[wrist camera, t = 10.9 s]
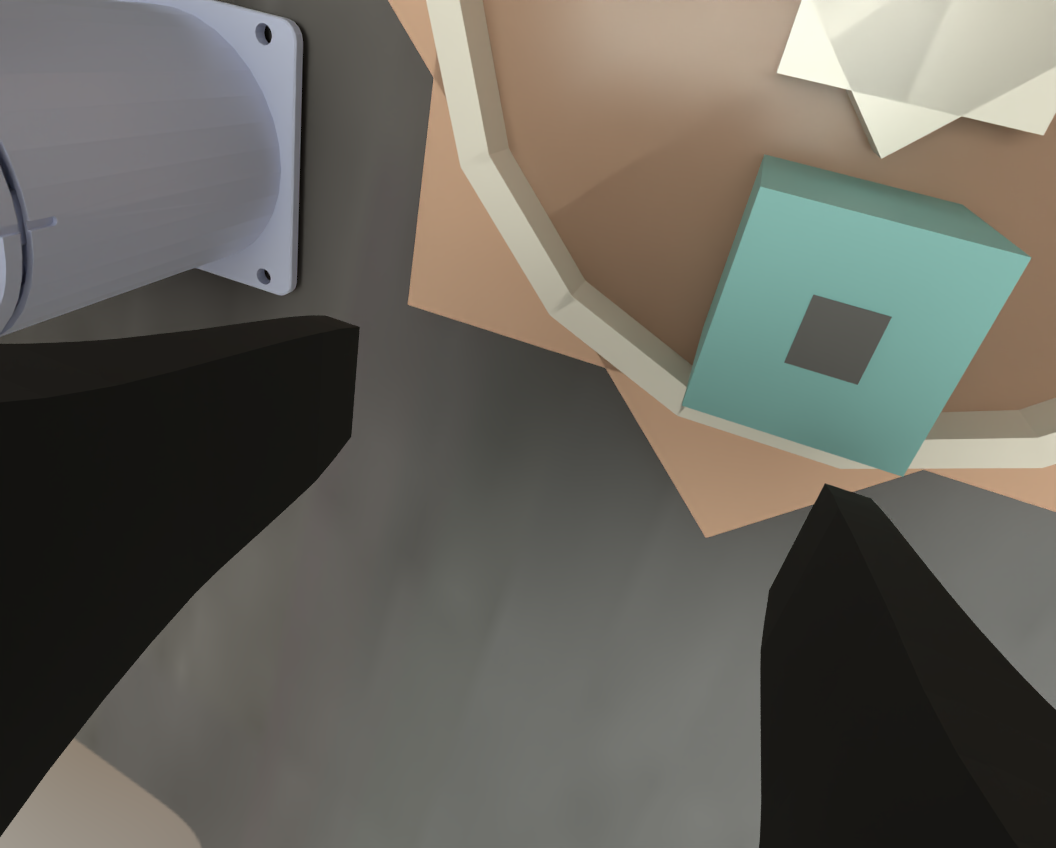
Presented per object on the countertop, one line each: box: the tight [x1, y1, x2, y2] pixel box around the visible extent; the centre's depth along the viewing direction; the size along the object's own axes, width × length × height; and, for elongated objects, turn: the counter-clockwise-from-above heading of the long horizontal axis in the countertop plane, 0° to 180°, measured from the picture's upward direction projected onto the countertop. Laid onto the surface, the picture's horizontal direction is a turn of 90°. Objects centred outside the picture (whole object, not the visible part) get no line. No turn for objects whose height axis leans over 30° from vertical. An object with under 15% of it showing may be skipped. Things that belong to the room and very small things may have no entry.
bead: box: [682, 154, 1031, 477], centre depth 15 cm, size 4×4×5 cm
